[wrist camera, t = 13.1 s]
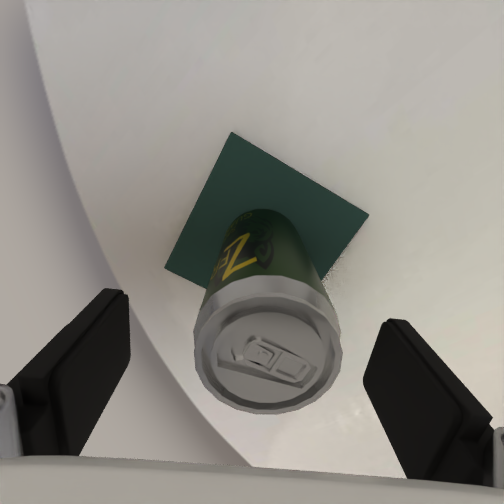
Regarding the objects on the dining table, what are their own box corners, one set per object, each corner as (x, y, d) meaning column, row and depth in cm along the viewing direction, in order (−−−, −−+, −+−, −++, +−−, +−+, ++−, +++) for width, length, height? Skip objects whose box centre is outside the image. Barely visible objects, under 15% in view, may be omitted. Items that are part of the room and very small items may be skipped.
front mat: (165, 265, 22) (163, 268, 21) (231, 131, 18) (231, 131, 18) (286, 324, 24) (286, 328, 23) (367, 213, 20) (369, 215, 20)
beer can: (312, 227, 20) (383, 332, 9) (275, 286, 22) (297, 437, 11) (244, 192, 19) (229, 260, 8) (212, 257, 21) (163, 386, 10)
